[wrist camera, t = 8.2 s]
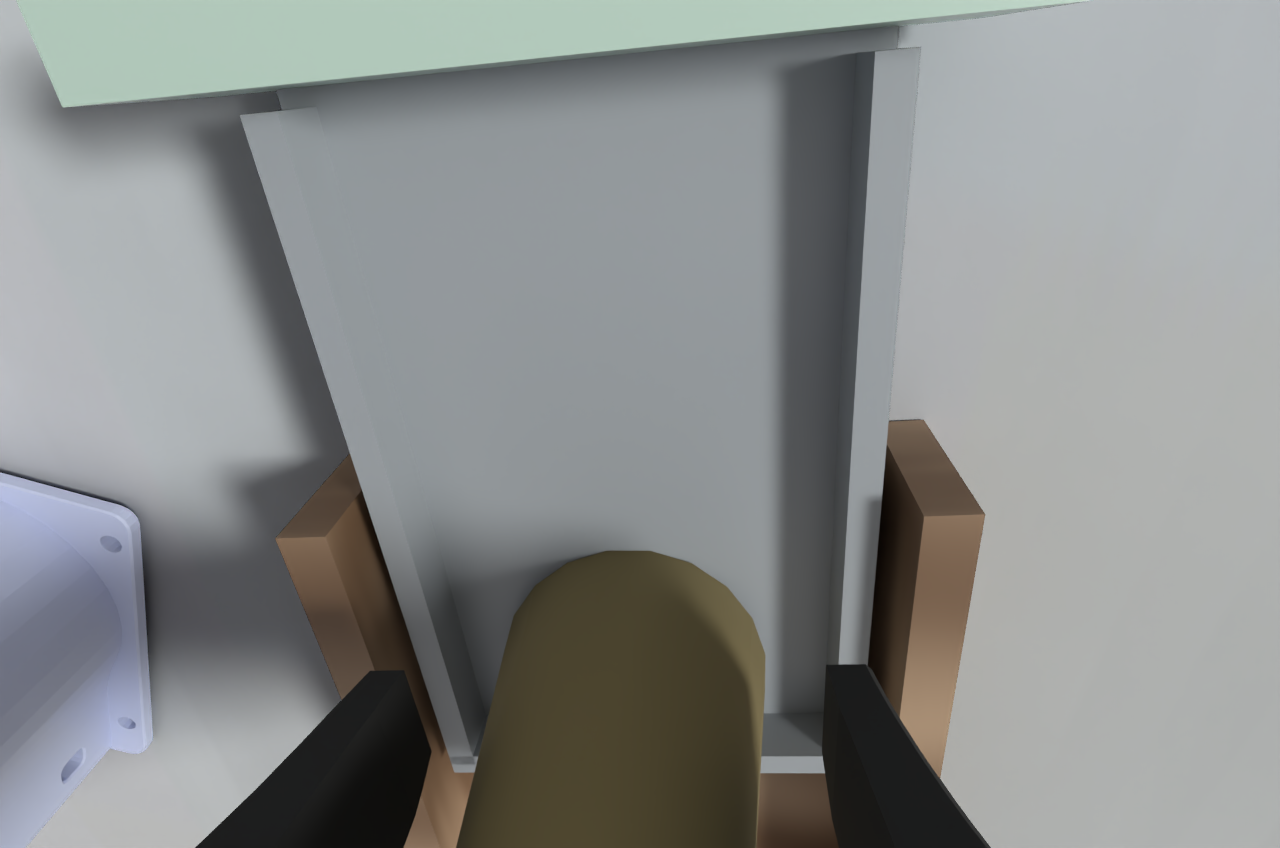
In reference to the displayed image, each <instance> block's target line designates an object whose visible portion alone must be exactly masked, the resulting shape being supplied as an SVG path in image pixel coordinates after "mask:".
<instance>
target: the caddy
mask: <svg viewBox="0 0 1280 848" xmlns="http://www.w3.org/2000/svg"><path fill="white" fill-rule="evenodd" d="M984 518H985V513H984V512H983V510H982V509H981V507H980V506H979V504H978V503H977V501H976V500H975V498H974V496H973V495H972V493H971V492H970V490H969V489H968V487H967V486H966V484H965V483H964V481H963V480H962V478H961V477H960V475H959V473H958V472H957V470H956V469H955V467H954V466H953V464H952V463H951V461H950V460H949V458H948V457H947V455H946V453H945V452H944V450H943V449H942V447H941V446H940V444H939V443H938V441H937V440H936V438H935V437H934V435H933V434H932V432H931V430H930V429H929V427H928V426H927V424H926V423H925V421H924V420H908V421H889V423H888V435H887V446H886V458H885V469H884V481H883V493H882V504H881V516H880V527H879V539H878V550H877V562H876V573H875V585H874V597H873V608H872V620H871V631H870V643H869V654H868V667H869V668H871V669H872V671H873V673H874V674H875V676H876V678H877V680H878V682H879V684H880V685H881V687H882V689H883V691H884V693H885V694H886V696H887V698H888V699H889V701H890V703H891V705H892V706H893V708H894V710H895V711H896V713H897V714H898V716H899V718H900V719H901V721H902V723H903V724H904V726H905V727H906V729H907V730H908V732H909V734H910V735H911V737H912V738H913V740H914V741H915V743H916V745H917V746H918V748H919V749H920V751H921V752H922V754H923V755H924V757H925V758H926V760H927V761H928V762H929V764H930V765H931V767H932V768H933V770H934V771H935V772H936V774H937V775H938V777H939V778H940V775H941V770H942V764H943V758H944V752H945V746H946V740H947V735H948V729H949V723H950V717H951V711H952V705H953V700H954V694H955V688H956V682H957V676H958V670H959V665H960V659H961V653H962V647H963V641H964V635H965V629H966V624H967V618H968V612H969V606H970V600H971V594H972V589H973V583H974V577H975V571H976V565H977V559H978V554H979V548H980V542H981V536H982V530H983V524H984ZM275 539H276V542H277V544H278V547H279V549H280V552H281V554H282V556H283V559H284V561H285V564H286V566H287V569H288V571H289V573H290V576H291V578H292V581H293V583H294V586H295V588H296V590H297V593H298V595H299V598H300V600H301V603H302V605H303V607H304V610H305V612H306V615H307V617H308V620H309V622H310V624H311V627H312V629H313V632H314V634H315V637H316V639H317V641H318V644H319V646H320V649H321V651H322V654H323V656H324V658H325V661H326V663H327V666H328V668H329V671H330V673H331V675H332V678H333V680H334V683H335V685H336V688H337V690H338V692H339V695H340V697H341V700H342V699H343V698H344V697H345V696H346V695H347V694H348V693H349V692H350V691H351V690H352V689H353V688H354V687H355V686H356V685H357V684H358V682H359V681H360V680H361V679H362V678H363V677H364V676H365V675H366V674H367V673H368V672H369V671H387V670H404V671H405V674H406V677H407V680H408V683H409V686H410V689H411V692H412V695H413V698H414V701H415V704H416V707H417V709H418V712H419V715H420V718H421V721H422V724H423V727H424V730H425V733H426V736H427V739H428V742H429V744H430V747H431V750H432V753H431V757H430V761H429V765H428V769H427V773H426V778H425V782H424V786H423V790H422V793H421V797H420V801H419V804H418V808H417V812H416V815H415V818H414V821H413V824H412V826H411V829H410V832H409V835H408V837H407V840H406V843H405V845H404V848H456V845H457V841H458V837H459V833H460V829H461V825H462V821H463V817H464V813H465V809H466V805H467V801H468V797H469V792H470V788H471V784H472V780H473V776H474V773H457V772H454V770H453V767H452V764H451V761H450V758H449V755H448V752H447V749H446V746H445V743H444V740H443V736H442V733H441V730H440V727H439V724H438V721H437V718H436V715H435V712H434V709H433V706H432V703H431V700H430V697H429V694H428V691H427V688H426V684H425V681H424V678H423V675H422V672H421V669H420V666H419V663H418V660H417V657H416V654H415V651H414V648H413V645H412V642H411V639H410V636H409V632H408V629H407V626H406V623H405V620H404V617H403V614H402V611H401V608H400V605H399V602H398V599H397V596H396V593H395V590H394V587H393V584H392V580H391V577H390V574H389V571H388V568H387V565H386V562H385V559H384V556H383V553H382V550H381V547H380V544H379V541H378V538H377V535H376V532H375V528H374V525H373V522H372V519H371V516H370V513H369V510H368V507H367V504H366V501H365V498H364V495H363V492H362V489H361V486H360V483H359V480H358V476H357V473H356V470H355V467H354V464H353V461H352V458H351V455H350V454H349V455H348V456H347V457H346V458H345V459H344V460H343V462H342V463H341V464H340V465H339V466H338V467H337V468H336V470H335V471H334V472H333V473H332V474H331V475H330V476H329V478H328V479H327V480H326V481H325V482H324V483H323V484H322V486H321V487H320V488H319V489H318V490H317V491H316V492H315V494H314V495H313V496H312V497H311V498H310V499H309V500H308V502H307V503H306V504H305V505H304V506H303V507H302V508H301V510H300V511H299V512H298V513H297V514H296V515H295V516H294V518H293V519H292V520H291V521H290V522H289V523H288V524H287V526H286V527H285V528H284V529H283V530H282V531H281V532H280V534H279V535H278V536H277V537H276V538H275ZM756 848H839V846H838V842H837V838H836V834H835V830H834V825H833V821H832V816H831V810H830V803H829V797H828V790H827V783H826V777H825V773H760V789H759V807H758V825H757V843H756Z"/></svg>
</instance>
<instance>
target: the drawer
mask: <svg viewBox="0 0 1280 848" xmlns="http://www.w3.org/2000/svg"><path fill="white" fill-rule="evenodd" d="M16 1H17V4H18V6H19V8H20V10H21V13H22V15H23V17H24V20H25V22H26V24H27V27H28V29H29V31H30V34H31V36H32V38H33V40H34V43H35V45H36V47H37V50H38V52H39V54H40V57H41V59H42V61H43V64H44V66H45V68H46V71H47V73H48V75H49V77H50V80H51V82H52V84H53V87H54V89H55V91H56V94H57V96H58V98H59V101H60V103H61V105H62V107H63V108H64V107H78V106H92V105H107V104H121V103H135V102H149V101H163V100H178V99H192V98H206V97H220V96H229V95H239V94H249V93H258V92H268V91H276V92H277V96H278V99H279V102H280V106H281V109H282V110H279V111H270V112H262V113H253V114H244V115H240V119H241V122H242V125H243V128H244V131H245V134H246V137H247V140H248V143H249V146H250V149H251V152H252V155H253V158H254V161H255V164H256V167H257V171H258V174H259V177H260V180H261V183H262V186H263V189H264V192H265V195H266V198H267V201H268V204H269V207H270V210H271V213H272V216H273V219H274V223H275V226H276V229H277V232H278V235H279V238H280V241H281V244H282V247H283V250H284V253H285V256H286V259H287V262H288V265H289V268H290V271H291V275H292V278H293V281H294V284H295V287H296V290H297V293H298V296H299V299H300V302H301V305H302V308H303V311H304V314H305V317H306V320H307V323H308V327H309V330H310V333H311V336H312V339H313V342H314V345H315V348H316V351H317V354H318V357H319V360H320V363H321V366H322V369H323V372H324V375H325V379H326V382H327V385H328V388H329V391H330V394H331V397H332V400H333V403H334V406H335V409H336V412H337V415H338V418H339V421H340V424H341V427H342V431H343V434H344V437H345V440H346V443H347V446H348V449H349V452H350V455H351V458H352V461H353V464H354V467H355V470H356V473H357V476H358V480H359V483H360V486H361V489H362V492H363V495H364V498H365V501H366V504H367V507H368V510H369V513H370V516H371V519H372V522H373V525H374V528H375V532H376V535H377V538H378V541H379V544H380V547H381V550H382V553H383V556H384V559H385V562H386V565H387V568H388V571H389V574H390V577H391V580H392V584H393V587H394V590H395V593H396V596H397V599H398V602H399V605H400V608H401V611H402V614H403V617H404V620H405V623H406V626H407V629H408V632H409V636H410V639H411V642H412V645H413V648H414V651H415V654H416V657H417V660H418V663H419V666H420V669H421V672H422V675H423V678H424V681H425V684H426V688H427V691H428V694H429V697H430V700H431V703H432V706H433V709H434V712H435V715H436V718H437V721H438V724H439V727H440V730H441V733H442V736H443V740H444V743H445V746H446V749H447V752H448V755H449V758H450V761H451V764H452V767H453V770H454V772H457V773H474V772H475V768H476V764H477V760H478V756H479V752H480V748H481V744H482V740H483V735H484V731H485V727H486V723H487V719H488V715H489V711H490V707H491V703H492V699H493V695H494V691H495V687H496V683H497V678H498V674H499V670H500V666H501V662H502V658H503V654H504V650H505V646H506V642H507V639H508V635H509V631H510V628H511V624H512V620H513V616H514V614H515V613H516V612H517V610H518V609H519V607H520V606H521V605H522V603H523V602H524V600H525V599H526V598H527V596H528V595H529V593H530V592H531V591H532V589H533V588H534V586H535V585H536V584H538V583H539V582H541V581H542V580H543V579H545V578H546V577H548V576H549V575H551V574H552V573H553V572H555V571H556V570H558V569H559V568H561V567H562V566H563V565H565V564H566V563H568V562H571V561H574V560H578V559H581V558H584V557H588V556H591V555H594V554H598V553H601V552H604V551H653V552H656V553H659V554H663V555H666V556H669V557H673V558H676V559H679V560H683V561H686V562H689V563H692V564H694V565H695V566H697V567H698V568H700V569H701V570H703V571H704V572H706V573H707V574H709V575H710V576H712V577H713V578H715V579H716V580H718V581H719V582H721V583H722V584H724V585H725V586H727V587H728V588H729V590H730V591H731V592H732V593H733V595H734V596H735V597H736V598H737V600H738V601H739V602H740V603H741V605H742V606H743V607H744V608H745V610H746V611H747V612H748V613H749V615H750V616H751V617H752V618H753V621H754V624H755V627H756V629H757V632H758V635H759V638H760V641H761V643H762V646H763V649H764V652H765V700H764V718H763V736H762V754H761V772H760V773H825V770H824V763H823V756H822V736H823V716H824V695H825V674H826V665H840V664H866V665H867V666H868V654H869V643H870V631H871V620H872V608H873V597H874V585H875V573H876V562H877V550H878V539H879V527H880V516H881V504H882V493H883V481H884V469H885V458H886V446H887V435H888V423H889V412H890V400H891V389H892V377H893V365H894V354H895V342H896V331H897V319H898V308H899V296H900V285H901V273H902V261H903V250H904V238H905V227H906V215H907V204H908V192H909V181H910V169H911V157H912V146H913V134H914V123H915V111H916V100H917V88H918V76H919V65H920V53H921V47H913V48H899V49H897V47H898V34H899V26H908V25H918V24H927V23H937V22H947V21H957V20H966V19H976V18H985V17H991V16H997V15H1004V14H1010V13H1017V12H1023V11H1029V10H1036V9H1042V8H1049V7H1055V6H1061V5H1068V4H1074V3H1080V2H1087V1H1093V0H16Z"/></svg>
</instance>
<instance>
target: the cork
mask: <svg viewBox="0 0 1280 848" xmlns="http://www.w3.org/2000/svg"><path fill="white" fill-rule="evenodd" d="M764 700H765V652H764V649H763V646H762V643H761V641H760V638H759V635H758V632H757V629H756V627H755V624H754V621H753V618H752V617H751V616H750V615H749V613H748V612H747V611H746V610H745V608H744V607H743V606H742V605H741V603H740V602H739V601H738V600H737V598H736V597H735V596H734V595H733V593H732V592H731V591H730V590H729V588H728V587H727V586H725V585H724V584H722V583H721V582H719V581H718V580H716V579H715V578H713V577H712V576H710V575H709V574H707V573H706V572H704V571H703V570H701V569H700V568H698V567H697V566H695V565H694V564H692V563H689V562H686V561H683V560H679V559H676V558H673V557H669V556H666V555H663V554H659V553H656V552H653V551H604V552H601V553H598V554H594V555H591V556H588V557H584V558H581V559H578V560H574V561H571V562H568V563H566V564H565V565H563V566H562V567H561V568H559V569H558V570H556V571H555V572H553V573H552V574H551V575H549V576H548V577H546V578H545V579H543V580H542V581H541V582H539V583H538V584H536V585H535V586H534V588H533V589H532V591H531V592H530V593H529V595H528V596H527V598H526V599H525V600H524V602H523V603H522V605H521V606H520V607H519V609H518V610H517V612H516V613H515V614H514V616H513V620H512V624H511V628H510V631H509V635H508V639H507V642H506V646H505V650H504V654H503V658H502V662H501V666H500V670H499V674H498V678H497V683H496V687H495V691H494V695H493V699H492V703H491V707H490V711H489V715H488V719H487V723H486V727H485V731H484V735H483V740H482V744H481V748H480V752H479V756H478V760H477V764H476V768H475V772H474V776H473V780H472V784H471V788H470V792H469V797H468V801H467V805H466V809H465V813H464V817H463V821H462V825H461V829H460V833H459V837H458V841H457V845H456V848H756V843H757V825H758V807H759V789H760V772H761V754H762V736H763V718H764Z"/></svg>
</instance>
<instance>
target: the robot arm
mask: <svg viewBox="0 0 1280 848" xmlns="http://www.w3.org/2000/svg"><path fill="white" fill-rule="evenodd" d="M152 740H153V727H152V711H151V695H150V678H149V662H148V645H147V629H146V612H145V596H144V579H143V563H142V547H141V530H140V523H139V520H138V518H137V517H136V515H135V514H134V513H133V512H132V511H131V510H129V509H128V508H126V507H123V506H121V505H118V504H114V503H111V502H107V501H103V500H100V499H96V498H92V497H89V496H85V495H81V494H78V493H74V492H70V491H67V490H63V489H59V488H56V487H52V486H48V485H45V484H41V483H37V482H34V481H30V480H26V479H23V478H19V477H15V476H12V475H8V474H4V473H1V472H0V848H26V847H27V846H28V844H29V843H30V842H31V841H32V840H33V839H34V837H35V836H36V835H37V834H38V833H39V831H40V830H41V829H42V828H43V827H44V826H45V824H46V823H47V822H48V821H49V820H50V818H51V817H52V816H53V815H54V814H55V813H56V811H57V810H58V809H59V808H60V807H61V806H62V804H63V803H64V802H65V801H66V800H67V798H68V797H69V796H70V795H71V794H72V793H73V791H74V790H75V789H76V788H77V787H78V785H79V784H80V783H81V782H82V781H83V780H84V778H85V777H86V776H87V775H88V774H89V773H90V771H91V770H92V769H93V768H94V767H95V765H96V764H97V763H98V762H99V761H100V760H101V758H102V757H103V756H104V755H105V754H106V753H107V751H108V750H109V749H114V750H119V751H123V752H127V753H132V754H137V753H142V752H144V751H145V750H146V749H147V747H148V746H149V745H150V744H151V742H152ZM431 753H432V750H431V747H430V744H429V742H428V739H427V736H426V733H425V730H424V727H423V724H422V721H421V718H420V715H419V712H418V709H417V707H416V704H415V701H414V698H413V695H412V692H411V689H410V686H409V683H408V680H407V677H406V674H405V671H404V670H387V671H369V672H368V673H367V674H366V675H365V676H364V677H363V678H362V679H361V680H360V681H359V682H358V684H357V685H356V686H355V687H354V688H353V689H352V690H351V691H350V692H349V693H348V694H347V695H346V696H345V697H344V698H343V699H342V700H341V701H340V702H339V703H338V704H337V706H336V707H335V708H334V709H333V710H332V711H331V712H330V713H329V714H328V715H327V716H326V717H325V718H324V719H323V720H322V721H321V723H320V724H319V725H318V726H317V727H316V728H315V729H314V730H313V731H312V732H311V733H310V734H309V735H308V736H307V737H306V738H305V739H304V740H303V742H302V743H301V744H300V745H299V746H298V747H297V748H296V749H295V750H294V751H293V752H292V753H291V754H290V755H289V756H288V757H287V758H286V759H285V760H284V761H283V762H282V763H281V764H280V765H279V766H278V767H277V768H276V769H275V770H274V771H273V772H272V774H271V775H270V776H269V777H268V778H267V779H266V780H265V781H264V782H263V783H262V784H261V785H260V786H259V787H258V788H257V789H256V790H255V791H254V792H253V793H252V794H251V795H250V796H249V797H248V798H247V799H246V800H244V801H243V802H242V803H241V804H240V805H239V806H238V807H237V808H236V809H235V810H234V811H233V812H232V813H231V814H230V815H229V816H228V817H227V818H226V819H225V820H224V821H223V822H222V823H221V824H220V825H219V826H217V827H216V828H215V829H214V830H213V831H212V832H211V833H210V834H209V835H208V836H207V837H206V838H205V839H204V840H203V841H202V842H201V843H200V844H199V845H198V846H196V847H195V848H404V845H405V843H406V840H407V837H408V835H409V832H410V829H411V826H412V824H413V821H414V818H415V815H416V812H417V808H418V804H419V801H420V797H421V793H422V790H423V786H424V782H425V778H426V773H427V769H428V765H429V761H430V757H431ZM822 756H823V763H824V770H825V777H826V783H827V790H828V797H829V803H830V810H831V816H832V821H833V825H834V830H835V834H836V838H837V842H838V846H839V848H991V847H990V846H989V845H988V843H987V842H986V841H985V840H984V838H983V837H982V836H981V834H980V833H979V832H978V831H977V829H976V828H975V827H974V825H973V824H972V823H971V821H970V820H969V819H968V817H967V816H966V815H965V813H964V812H963V810H962V809H961V808H960V806H959V805H958V804H957V802H956V801H955V800H954V798H953V797H952V795H951V794H950V792H949V791H948V790H947V788H946V787H945V785H944V784H943V782H942V781H941V780H940V778H939V777H938V775H937V774H936V772H935V771H934V770H933V768H932V767H931V765H930V764H929V762H928V761H927V760H926V758H925V757H924V755H923V754H922V752H921V751H920V749H919V748H918V746H917V745H916V743H915V741H914V740H913V738H912V737H911V735H910V734H909V732H908V730H907V729H906V727H905V726H904V724H903V723H902V721H901V719H900V718H899V716H898V714H897V713H896V711H895V710H894V708H893V706H892V705H891V703H890V701H889V699H888V698H887V696H886V694H885V693H884V691H883V689H882V687H881V685H880V684H879V682H878V680H877V678H876V676H875V674H874V673H873V671H872V669H871V668H869V667H868V666H867V665H866V664H840V665H826V674H825V695H824V716H823V736H822Z"/></svg>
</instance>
